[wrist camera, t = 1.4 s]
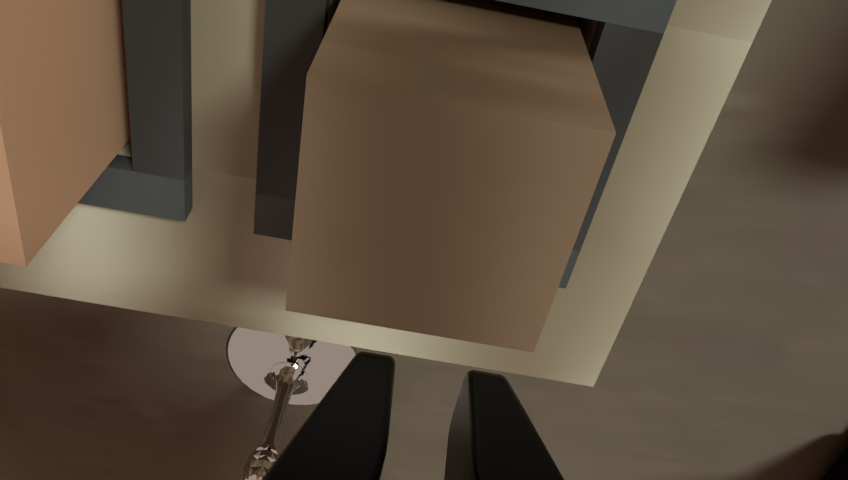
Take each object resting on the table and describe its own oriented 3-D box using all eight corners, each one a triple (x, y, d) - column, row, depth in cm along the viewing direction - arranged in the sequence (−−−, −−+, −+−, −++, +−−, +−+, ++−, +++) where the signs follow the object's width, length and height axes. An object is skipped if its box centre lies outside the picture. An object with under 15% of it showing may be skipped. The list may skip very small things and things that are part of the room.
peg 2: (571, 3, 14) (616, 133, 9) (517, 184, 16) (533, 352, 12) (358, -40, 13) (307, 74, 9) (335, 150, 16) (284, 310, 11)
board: (766, -256, 14) (902, -243, 10) (570, 262, 22) (596, 402, 17) (-188, -472, 13) (-527, -569, 9) (-46, 152, 21) (-188, 272, 16)
